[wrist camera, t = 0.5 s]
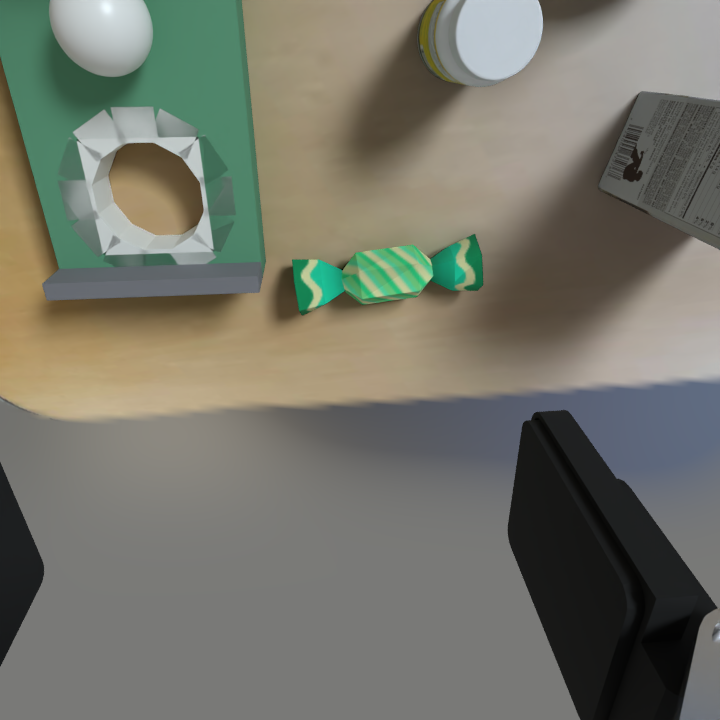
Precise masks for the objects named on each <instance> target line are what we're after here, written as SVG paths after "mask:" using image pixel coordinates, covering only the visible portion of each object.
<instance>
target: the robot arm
mask: <svg viewBox="0 0 720 720" xmlns="http://www.w3.org/2000/svg"><path fill="white" fill-rule="evenodd" d="M508 537H509V542H510V545H511V548H512V551H513V554H514V556H515V558H516V561H517V563H518V566H519V568H520V571H521V574H522V576H523V579H524V581H525V583H526V586H527V588H528V591H529V593H530V596H531V598H532V601H533V603H534V606H535V608H536V611H537V613H538V616H539V618H540V621H541V623H542V626H543V628H544V631H545V633H546V636H547V638H548V641H549V643H550V646H551V648H552V651H553V653H554V656H555V658H556V660H557V663H558V666H559V668H560V670H561V673H562V675H563V678H564V680H565V683H566V685H567V688H568V690H569V693H570V695H571V698H572V700H573V703H574V705H575V708H576V710H577V713H578V715H579V717H580V719H581V720H720V608H719V609H718V608H717V607H716V605H715V604H714V603H713V601H712V600H711V598H710V597H709V595H708V594H707V593H706V591H705V590H704V589H703V587H702V586H701V585H700V583H699V582H698V580H697V579H696V578H695V576H694V575H693V574H692V572H691V571H690V569H689V568H688V567H687V565H686V564H685V562H684V561H683V560H682V558H681V557H680V556H679V554H678V553H677V551H676V550H675V549H674V547H673V546H672V545H671V543H670V542H669V540H668V539H667V538H666V536H665V535H664V533H663V532H662V531H661V529H660V528H659V527H658V525H657V524H656V522H655V521H654V520H653V518H652V517H651V516H650V514H649V513H648V511H647V510H646V509H645V507H644V506H643V505H642V503H641V502H640V501H639V499H638V498H637V496H636V495H635V493H634V492H633V491H632V489H631V488H630V487H629V486H628V485H627V484H626V483H625V482H624V481H622V480H620V479H616V477H615V476H614V474H613V473H612V472H611V470H610V469H609V467H608V466H607V465H606V463H605V462H604V460H603V459H602V457H601V456H600V455H599V453H598V452H597V451H596V449H595V448H594V446H593V445H592V443H591V442H590V441H589V439H588V438H587V436H586V435H585V434H584V432H583V431H582V429H581V428H580V426H579V425H578V424H577V422H576V421H575V419H574V418H573V417H572V415H571V414H570V413H569V412H568V411H566V410H561V411H546V412H536V413H534V414H533V416H532V419H531V421H530V420H529V421H525V422H524V423H523V426H522V432H521V439H520V445H519V452H518V460H517V466H516V474H515V480H514V487H513V494H512V501H511V508H510V515H509V522H508ZM43 576H44V565H43V562H42V559H41V557H40V554H39V552H38V549H37V547H36V545H35V542H34V540H33V538H32V535H31V533H30V531H29V529H28V526H27V524H26V521H25V519H24V517H23V514H22V512H21V510H20V507H19V505H18V503H17V500H16V498H15V496H14V494H13V491H12V489H11V487H10V484H9V482H8V479H7V477H6V475H5V472H4V470H3V467H2V465H1V463H0V666H1V664H2V662H3V660H4V658H5V656H6V654H7V652H8V650H9V648H10V646H11V644H12V642H13V640H14V638H15V636H16V634H17V632H18V630H19V628H20V626H21V624H22V622H23V620H24V618H25V616H26V614H27V612H28V610H29V608H30V606H31V603H32V602H33V600H34V597H35V595H36V593H37V592H38V590H39V587H40V586H41V583H42V580H43Z"/></svg>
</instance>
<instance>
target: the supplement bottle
mask: <svg viewBox="0 0 720 720" xmlns="http://www.w3.org/2000/svg"><path fill="white" fill-rule="evenodd" d="M542 30H543V17H542V10H541V7H540V4H539V2H538V0H432V1H431V3H430V4H429V5H428V6H427V8H426V9H425V11H424V13H423V15H422V18H421V20H420V23H419V28H418V37H417V41H418V49H419V53H420V56H421V59H422V61H423V63H424V64H425V66H426V67H427V69H428V70H429V71H430V72H431V73H432V74H433V75H435V76H436V77H438V78H439V79H442V80H444V81H447V82H453V83H459V84H463V85H467V86H475V87H485V86H491V85H494V84H497V83H500V82H501V81H503V80H505V79H506V78H509V77H511V76H513V75H515V74H517V73H518V72H519V71H521V70H522V69H523V68H524V67H525V66H526V65H527V64H528V63H529V62H530V60H531V59H532V57H533V56H534V54H535V52H536V50H537V48H538V46H539V43H540V40H541V36H542Z"/></svg>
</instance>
